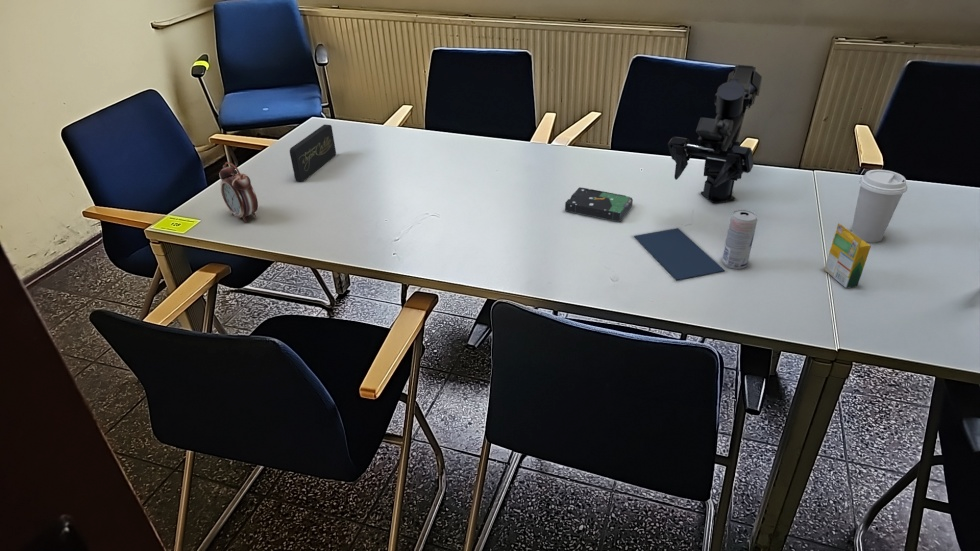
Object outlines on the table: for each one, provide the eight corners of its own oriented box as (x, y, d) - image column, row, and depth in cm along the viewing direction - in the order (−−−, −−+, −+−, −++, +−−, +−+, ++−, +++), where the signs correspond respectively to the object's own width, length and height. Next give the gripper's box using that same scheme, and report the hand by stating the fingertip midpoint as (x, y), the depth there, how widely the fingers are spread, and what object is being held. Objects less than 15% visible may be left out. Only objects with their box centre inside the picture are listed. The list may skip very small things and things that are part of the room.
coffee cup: (870, 250, 148) (891, 189, 140) (834, 232, 155) (851, 173, 147) (898, 239, 152) (919, 179, 143) (861, 222, 159) (880, 164, 151)
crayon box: (858, 286, 136) (874, 237, 130) (845, 288, 136) (861, 239, 129) (835, 268, 142) (850, 220, 136) (823, 270, 142) (837, 222, 135)
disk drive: (564, 212, 168) (620, 223, 162) (564, 202, 166) (621, 212, 160) (578, 196, 175) (632, 205, 170) (578, 186, 174) (633, 195, 168)
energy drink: (747, 259, 146) (758, 211, 140) (747, 271, 142) (757, 222, 136) (722, 255, 148) (731, 207, 141) (721, 267, 144) (730, 219, 137)
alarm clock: (225, 213, 172) (211, 160, 164) (242, 207, 175) (228, 154, 167) (247, 226, 166) (233, 171, 158) (264, 219, 169) (251, 165, 161)
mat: (677, 229, 159) (677, 228, 158) (724, 271, 142) (724, 270, 142) (634, 236, 156) (634, 235, 156) (676, 280, 140) (676, 279, 140)
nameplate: (301, 182, 187) (294, 149, 182) (295, 182, 188) (289, 149, 182) (336, 154, 204) (331, 123, 199) (331, 154, 205) (325, 123, 199)
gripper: (678, 101, 151) (649, 151, 146) (760, 110, 140) (731, 164, 135) (686, 134, 159) (658, 183, 154) (764, 146, 148) (737, 198, 143)
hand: (694, 181), depth 147 cm, fingers open, 9 cm apart
